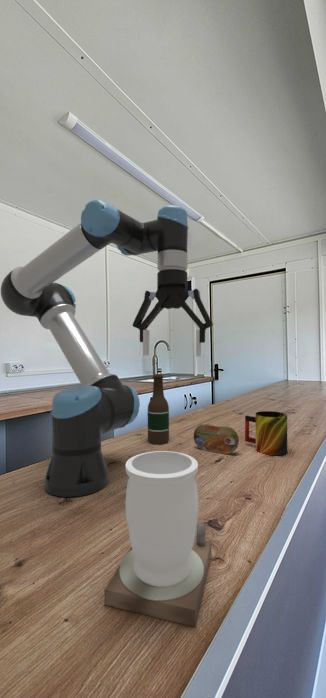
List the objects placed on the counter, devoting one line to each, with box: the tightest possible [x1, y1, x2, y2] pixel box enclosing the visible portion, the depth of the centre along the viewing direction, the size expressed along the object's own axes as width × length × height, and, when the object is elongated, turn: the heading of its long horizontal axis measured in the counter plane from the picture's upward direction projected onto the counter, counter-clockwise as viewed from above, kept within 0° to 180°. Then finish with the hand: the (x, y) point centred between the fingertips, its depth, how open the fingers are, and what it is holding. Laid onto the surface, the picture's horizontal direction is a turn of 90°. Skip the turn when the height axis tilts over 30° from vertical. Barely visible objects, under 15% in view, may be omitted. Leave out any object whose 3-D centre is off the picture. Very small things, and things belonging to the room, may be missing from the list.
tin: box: [193, 423, 240, 455], centre depth 103 cm, size 15×3×8 cm, turn 56°
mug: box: [244, 410, 288, 457], centre depth 103 cm, size 10×14×12 cm
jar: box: [125, 450, 199, 587], centre depth 46 cm, size 11×10×15 cm
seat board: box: [103, 522, 212, 628], centre depth 47 cm, size 12×14×5 cm
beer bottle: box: [147, 373, 170, 445], centre depth 114 cm, size 8×8×24 cm
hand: (171, 356), depth 80 cm, fingers open, 13 cm apart
